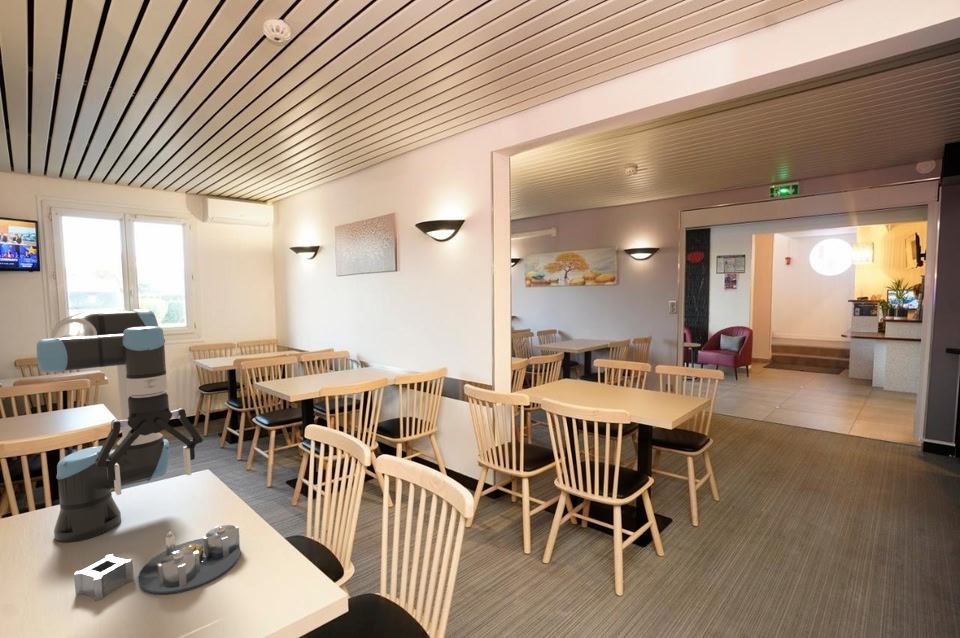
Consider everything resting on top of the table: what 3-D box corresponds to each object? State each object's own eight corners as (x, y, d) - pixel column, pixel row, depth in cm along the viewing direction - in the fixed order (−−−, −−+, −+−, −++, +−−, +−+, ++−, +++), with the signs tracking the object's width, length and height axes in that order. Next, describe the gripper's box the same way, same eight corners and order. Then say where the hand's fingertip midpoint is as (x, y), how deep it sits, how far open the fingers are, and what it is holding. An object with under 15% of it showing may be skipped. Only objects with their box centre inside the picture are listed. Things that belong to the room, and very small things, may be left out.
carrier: (134, 564, 118) (131, 535, 117) (228, 532, 133) (227, 506, 132) (144, 608, 102) (142, 575, 101) (251, 566, 116) (249, 537, 116)
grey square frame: (72, 594, 107) (71, 574, 106) (112, 571, 115) (110, 553, 114) (98, 601, 104) (96, 580, 104) (136, 578, 112) (135, 559, 112)
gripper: (79, 408, 93) (87, 507, 95) (213, 386, 112) (218, 470, 113) (73, 402, 98) (82, 496, 100) (203, 382, 117) (208, 462, 118)
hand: (154, 483), depth 107 cm, fingers open, 13 cm apart
